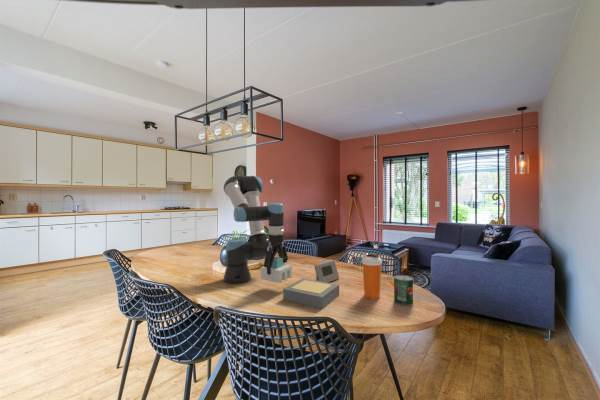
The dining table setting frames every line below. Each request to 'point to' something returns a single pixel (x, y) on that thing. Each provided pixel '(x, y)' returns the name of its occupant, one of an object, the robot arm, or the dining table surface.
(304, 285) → the dock
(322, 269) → the digital clock
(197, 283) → the dining table surface
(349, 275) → the dining table surface
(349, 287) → the dining table surface
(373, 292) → the shaker bottle
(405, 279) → the canned tomato
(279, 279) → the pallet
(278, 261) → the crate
